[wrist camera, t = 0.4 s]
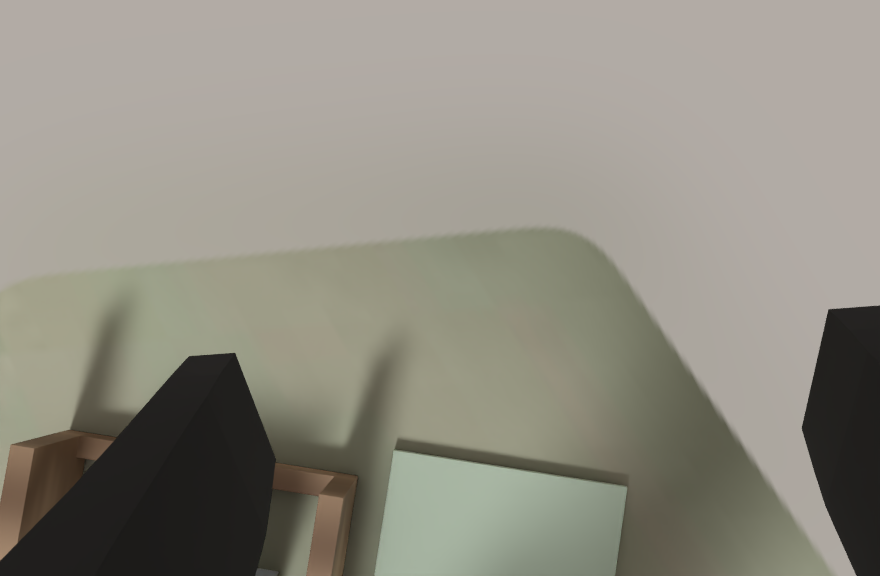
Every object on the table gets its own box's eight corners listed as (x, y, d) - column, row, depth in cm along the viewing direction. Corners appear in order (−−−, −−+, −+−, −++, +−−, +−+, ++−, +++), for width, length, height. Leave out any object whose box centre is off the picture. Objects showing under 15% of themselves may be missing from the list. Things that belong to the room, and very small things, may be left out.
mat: (598, 679, 37) (599, 683, 36) (364, 641, 37) (363, 644, 37) (625, 485, 37) (627, 487, 37) (394, 448, 38) (393, 450, 37)
